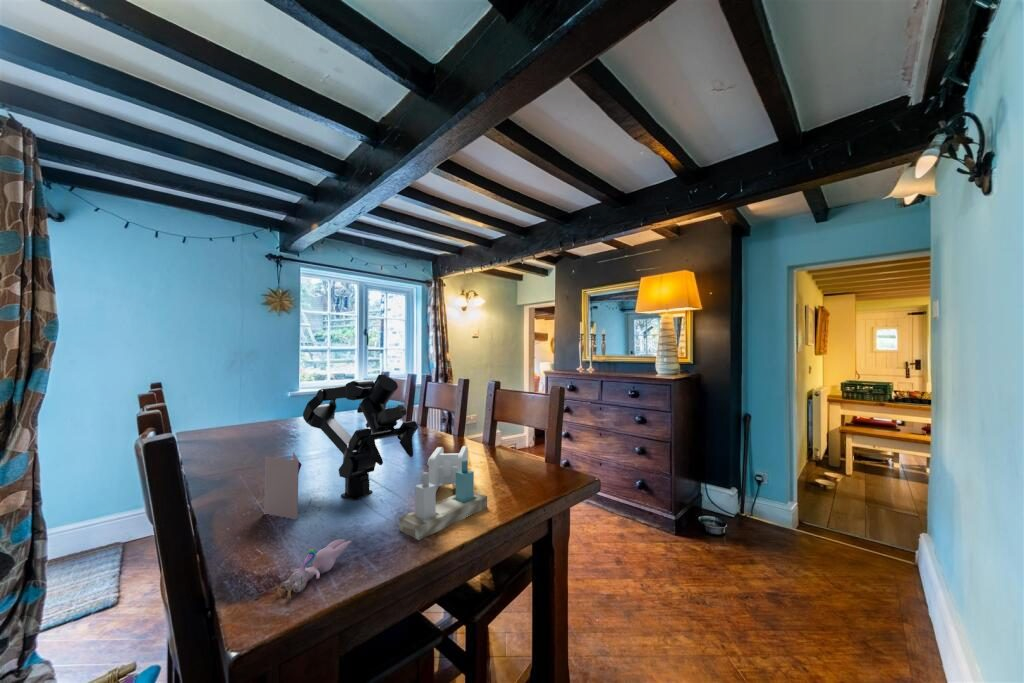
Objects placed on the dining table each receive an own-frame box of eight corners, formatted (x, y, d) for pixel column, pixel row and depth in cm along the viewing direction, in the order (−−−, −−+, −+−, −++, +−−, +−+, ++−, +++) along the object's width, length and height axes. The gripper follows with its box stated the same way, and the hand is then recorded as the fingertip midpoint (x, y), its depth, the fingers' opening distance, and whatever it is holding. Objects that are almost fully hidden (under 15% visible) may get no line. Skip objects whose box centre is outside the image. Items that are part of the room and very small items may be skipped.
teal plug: (464, 513, 95) (464, 463, 95) (455, 510, 97) (455, 461, 97) (473, 509, 97) (473, 460, 98) (465, 505, 99) (464, 458, 100)
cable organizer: (462, 496, 106) (462, 457, 106) (426, 497, 106) (426, 457, 106) (468, 479, 121) (468, 444, 121) (436, 479, 121) (436, 444, 121)
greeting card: (301, 519, 92) (302, 459, 93) (266, 527, 87) (267, 465, 88) (295, 504, 101) (296, 450, 102) (263, 511, 96) (264, 455, 97)
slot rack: (419, 540, 81) (419, 526, 81) (399, 529, 86) (399, 517, 86) (487, 507, 98) (487, 496, 98) (467, 500, 103) (467, 489, 103)
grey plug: (415, 528, 87) (415, 473, 87) (426, 523, 89) (426, 470, 90) (423, 532, 84) (424, 476, 85) (435, 527, 87) (435, 472, 88)
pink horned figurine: (297, 610, 61) (361, 550, 75) (293, 577, 60) (358, 523, 74) (271, 602, 63) (337, 545, 77) (266, 570, 62) (334, 519, 76)
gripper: (354, 399, 93) (377, 449, 86) (414, 393, 108) (438, 435, 100) (339, 426, 98) (359, 475, 90) (399, 417, 112) (421, 459, 105)
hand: (397, 460), depth 96 cm, fingers open, 9 cm apart
